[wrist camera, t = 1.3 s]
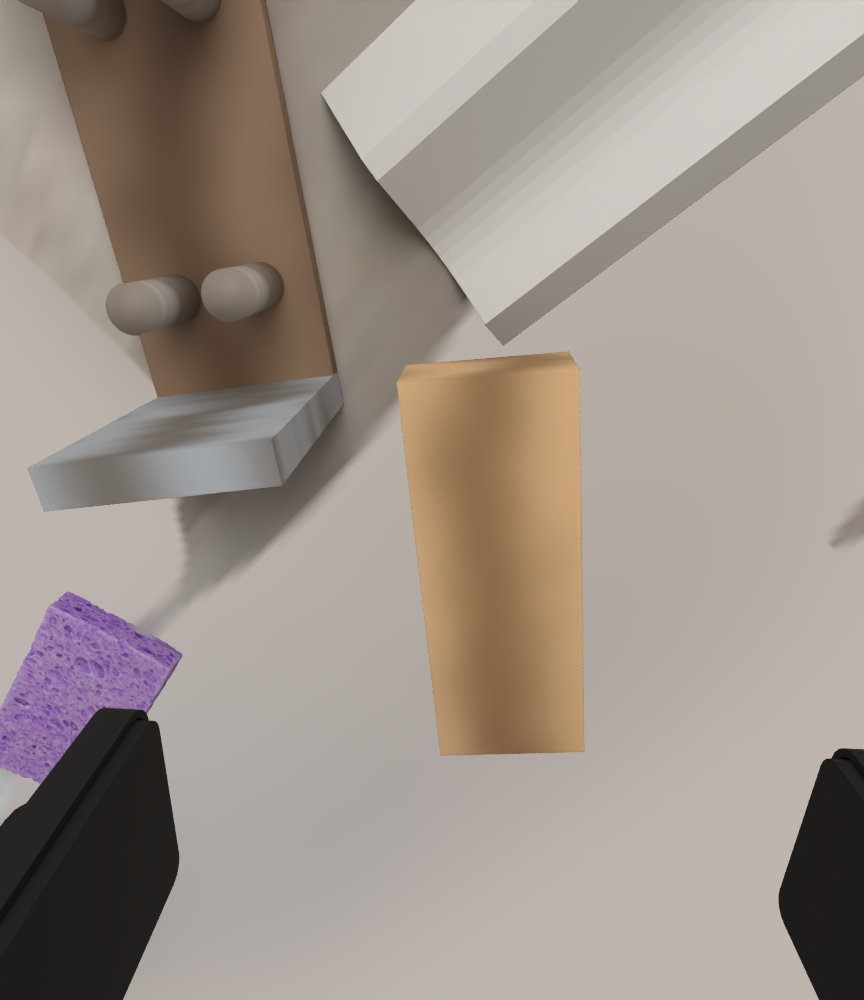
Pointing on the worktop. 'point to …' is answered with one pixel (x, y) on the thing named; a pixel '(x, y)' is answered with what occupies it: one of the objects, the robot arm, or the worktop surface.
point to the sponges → (76, 682)
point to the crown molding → (578, 124)
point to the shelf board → (499, 548)
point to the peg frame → (195, 250)
